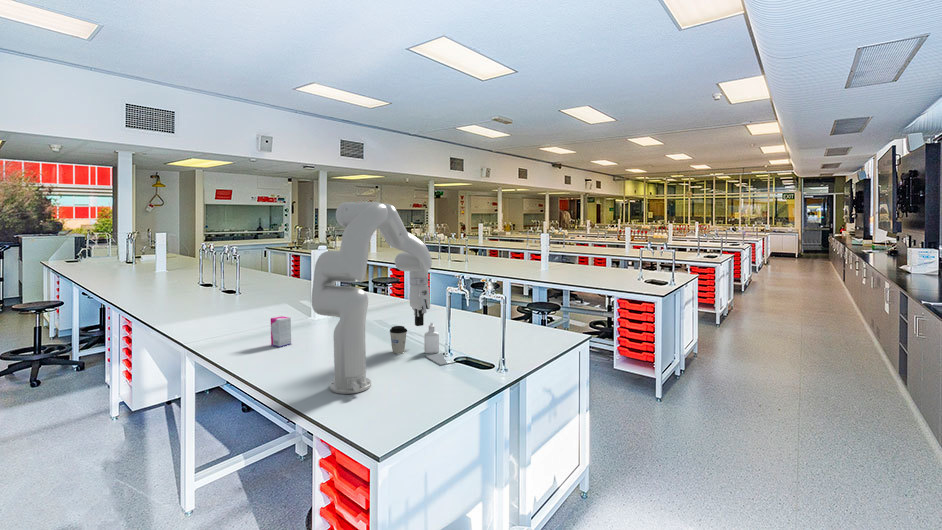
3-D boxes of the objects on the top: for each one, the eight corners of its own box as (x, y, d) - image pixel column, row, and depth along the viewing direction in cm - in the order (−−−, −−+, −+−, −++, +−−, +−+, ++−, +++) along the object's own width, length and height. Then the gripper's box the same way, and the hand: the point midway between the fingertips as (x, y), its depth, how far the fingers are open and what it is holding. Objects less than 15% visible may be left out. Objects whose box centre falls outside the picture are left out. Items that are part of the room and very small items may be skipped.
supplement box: (292, 344, 190) (291, 317, 188) (279, 347, 185) (278, 320, 183) (283, 342, 193) (282, 315, 191) (270, 345, 188) (269, 318, 186)
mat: (464, 361, 170) (464, 360, 170) (440, 365, 165) (440, 364, 165) (447, 352, 180) (447, 351, 180) (425, 356, 175) (425, 355, 175)
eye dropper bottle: (436, 354, 178) (436, 324, 177) (422, 353, 179) (422, 323, 178) (440, 351, 182) (440, 321, 181) (427, 350, 184) (427, 320, 182)
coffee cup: (402, 348, 185) (402, 324, 184) (410, 353, 180) (410, 328, 178) (386, 351, 181) (386, 326, 180) (394, 355, 176) (393, 330, 175)
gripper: (435, 283, 183) (435, 328, 185) (418, 278, 195) (419, 320, 197) (418, 284, 179) (419, 330, 181) (402, 279, 191) (403, 322, 193)
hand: (419, 325), depth 189 cm, fingers closed
